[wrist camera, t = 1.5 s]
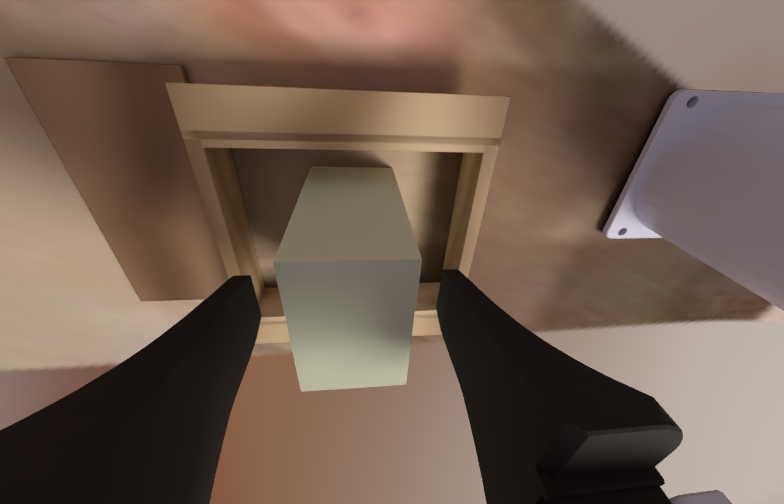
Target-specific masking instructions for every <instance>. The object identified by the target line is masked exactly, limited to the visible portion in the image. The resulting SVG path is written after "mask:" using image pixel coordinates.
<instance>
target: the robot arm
mask: <svg viewBox="0 0 784 504" xmlns="http://www.w3.org/2000/svg"><path fill="white" fill-rule="evenodd" d="M690 98H691V99H690ZM689 99H690V102H689V103H688V104H687V102H688V101H689ZM603 234H604V235H605V236H606V237H607V238H664V239H666V240H668V241H669V242H671V243H673V244H674V245H676V246H678V247H679V248H681V249H683V250H684V251H686V252H688V253H689V254H691V255H693V256H694V257H696V258H697V259H699V260H701V261H702V262H704V263H706V264H707V265H709V266H711V267H712V268H714V269H716V270H717V271H719V272H721V273H722V274H724V275H726V276H727V277H729V278H731V279H732V280H734V281H736V282H737V283H739V284H741V285H742V286H744V287H746V288H747V289H749V290H750V291H752V292H754V293H755V294H757V295H759V296H760V297H762V298H764V299H765V300H767V301H769V302H770V303H772V304H774V305H775V306H777V307H779V308H780V309H782V310H784V94H779V93H758V92H757V93H756V92H736V91H735V92H734V91H715V90H693V89H680V90H677V91H676V92H674V93H673V94H672V95H671V96H670V97H669V99H668V100H667V102H666V104H665V106H664V108H663V110H662V112H661V114H660V116H659V118H658V120H657V122H656V124H655V126H654V128H653V130H652V132H651V134H650V136H649V138H648V140H647V142H646V144H645V146H644V148H643V150H642V152H641V154H640V156H639V158H638V160H637V162H636V164H635V166H634V168H633V170H632V172H631V174H630V176H629V178H628V180H627V182H626V184H625V186H624V188H623V190H622V192H621V194H620V196H619V199H618V201H617V203H616V205H615V207H614V209H613V211H612V213H611V215H610V217H609V219H608V221H607V223H606V225H605V227H604V229H603ZM436 310H437V315H438V320H439V324H440V329H441V332H442V335H443V338H444V341H445V344H446V347H447V349H448V352H449V355H450V358H451V361H452V364H453V366H454V369H455V372H456V375H457V378H458V380H459V383H460V386H461V389H462V393H463V396H464V401H465V405H466V409H467V412H468V417H469V421H470V425H471V429H472V434H473V438H474V443H475V447H476V452H477V456H478V461H479V466H480V471H481V476H482V481H483V485H484V491H485V496H486V502H487V504H732V503H731V502H730V501H729V500H728V498H727V497H726V496H725V495H724V494H723V492H720V491H718V490H714V491H706V492H699V493H690V494H684V495H679V496H675V497H673V498H670V499H668V497H667V496H666V494H665V493H664V492H663V491H662V489H661V488H660V486H661V485H663V484H664V479H663V477H662V476H661V475H660V473H659V472H658V471H657V469H656V468H655V466H656V465H657V464H658V463H660V462H661V461H662V460H663V459H664V458H665V457H667V456H668V455H669V454H670V453H672V452H673V451H674V450H675V449H676V448H677V447H678V446H679V445H680V443H681V441H682V439H683V434H682V430H681V429H680V428H679V426H678V425H677V424H676V423H675V422H674V421H673V420H672V418H671V417H670V416H669V415H668V414H667V413H666V412H665V410H664V409H663V408H662V407H661V406H660V405H659V403H658V402H657V401H656V400H655V399H654V398H653V397H651V396H649V395H647V394H645V393H643V392H640V391H638V390H636V389H634V388H632V387H629V386H627V385H625V384H623V383H621V382H618V381H616V380H614V379H612V378H610V377H608V376H606V375H604V374H602V373H600V372H597V371H596V370H594V369H592V368H590V367H588V366H586V365H584V364H583V363H581V362H579V361H577V360H575V359H573V358H572V357H570V356H568V355H567V354H565V353H563V352H562V351H560V350H558V349H557V348H555V347H553V346H552V345H550V344H549V343H547V342H545V341H544V340H542V339H541V338H539V337H538V336H536V335H535V334H534V333H532V332H531V331H529V330H528V329H526V328H525V327H524V326H522V325H521V324H520V323H518V322H517V321H516V320H514V319H513V318H512V317H511V316H509V315H508V314H507V313H506V312H504V311H503V310H502V309H501V308H500V307H498V306H497V305H496V304H495V303H494V302H493V301H491V300H490V299H489V298H488V297H487V296H486V295H485V294H484V293H483V292H482V291H480V290H479V289H478V288H477V287H476V286H475V285H474V284H473V283H472V282H471V281H470V280H469V279H468V278H467V277H466V276H465V275H464V274H463V273H461V272H460V271H459V270H458V269H443V270H442V276H441V282H440V288H439V293H438V299H437V305H436ZM261 316H262V315H261V312H260V308H259V304H258V301H257V297H256V293H255V290H254V286H253V282H252V279H251V275H237V276H232V277H231V278H230V279H228V280H227V281H226V282H225V283H224V284H222V285H221V286H220V287H219V288H218V289H217V290H216V291H215V292H213V293H212V294H211V295H210V296H209V297H208V298H207V299H205V300H204V301H203V302H202V303H201V304H199V305H198V306H197V307H196V308H195V309H194V310H192V311H191V312H190V313H189V314H188V315H187V316H185V317H184V318H183V319H181V320H180V321H179V322H178V323H176V324H175V325H174V326H173V327H171V328H170V329H169V330H167V331H166V332H165V333H164V334H162V335H161V336H160V337H158V338H157V339H156V340H154V341H153V342H152V343H150V344H149V345H147V346H146V347H145V348H143V349H142V350H140V351H139V352H137V353H136V354H134V355H133V356H131V357H130V358H128V359H127V360H125V361H124V362H122V363H121V364H119V365H118V366H116V367H114V368H113V369H111V370H110V371H108V372H106V373H104V374H103V375H101V376H100V377H98V378H96V379H95V380H93V381H91V382H90V383H88V384H86V385H85V386H83V387H81V388H80V389H78V390H76V391H74V392H73V393H71V394H69V395H67V396H65V397H64V398H62V399H60V400H58V401H56V402H55V403H53V404H51V405H49V406H47V407H45V408H43V409H41V410H40V411H38V412H36V413H34V414H32V415H30V416H28V417H27V418H24V419H22V420H20V421H18V422H16V423H15V424H13V425H11V426H9V427H7V428H4V429H2V430H0V504H209V502H210V498H211V493H212V488H213V483H214V478H215V473H216V469H217V465H218V461H219V457H220V452H221V448H222V444H223V439H224V436H225V432H226V428H227V424H228V420H229V416H230V412H231V409H232V406H233V403H234V400H235V397H236V394H237V392H238V389H239V386H240V383H241V381H242V378H243V375H244V373H245V370H246V367H247V365H248V362H249V359H250V356H251V354H252V351H253V348H254V345H255V342H256V339H257V335H258V330H259V326H260V321H261Z"/></svg>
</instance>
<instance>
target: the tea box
mask: <svg viewBox="0 0 784 504" xmlns="http://www.w3.org/2000/svg"><path fill="white" fill-rule="evenodd" d="M421 263H422V259H421V256H420V252H419V249H418V246H417V243H416V240H415V237H414V234H413V230H412V227H411V224H410V221H409V219H408V216H407V213H406V210H405V206H404V203H403V200H402V197H401V194H400V191H399V187H398V184H397V181H396V178H395V175H394V172H393V168H380V167H310V170H309V172H308V175H307V177H306V180H305V182H304V185H303V188H302V190H301V193H300V195H299V198H298V200H297V203H296V206H295V208H294V211H293V213H292V216H291V218H290V221H289V223H288V226H287V228H286V231H285V234H284V236H283V239H282V241H281V244H280V246H279V249H278V251H277V254H276V257H275V259H274V262H273V265H274V270H275V275H276V279H277V284H278V289H279V293H280V298H281V303H282V307H283V312H284V316H285V319H286V323H287V328H288V333H289V337H290V342H291V347H292V352H293V356H294V361H295V366H296V370H297V375H298V379H299V384H300V388H301V391H317V390H331V389H347V388H361V387H375V386H391V385H405V384H406V380H407V371H408V362H409V354H410V347H411V338H412V330H413V322H414V314H415V311H416V303H417V295H418V287H419V279H420V271H421Z"/></svg>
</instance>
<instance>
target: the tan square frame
mask: <svg viewBox="0 0 784 504" xmlns="http://www.w3.org/2000/svg"><path fill="white" fill-rule="evenodd" d="M165 85H166V88H167V91H168V94H169V97H170V100H171V103H172V106H173V109H174V112H175V115H176V118H177V122H178V125H179V128H180V131H181V134H182V137H183V140H184V143H185V146H186V149H187V152H188V155H189V158H190V161H191V164H192V168H193V171H194V174H195V177H196V180H197V183H198V186H199V189H200V192H201V195H202V198H203V201H204V204H205V207H206V210H207V213H208V217H209V220H210V223H211V226H212V229H213V232H214V235H215V238H216V241H217V244H218V247H219V250H220V253H221V256H222V259H223V262H224V266H225V269H226V272H227V275H228V278H229V279H230V278H231V277H232V276H237V275H251V279H252V282H253V286H254V290H255V293H256V297H257V301H258V304H259V308H260V312H261V315H262V316H261V321H260V326H259V330H258V335H257V339H256V342H255V344H260V343H280V342H290V337H289V333H288V328H287V323H286V319H285V316H284V312H283V307H282V303H281V298H280V293H279V289H278V287H270V288H265V286H264V282H263V278H262V274H261V270H260V266H259V262H258V258H257V254H256V250H255V246H254V242H253V238H252V234H251V230H250V226H249V222H248V217H247V213H246V209H245V205H244V201H243V197H242V193H241V189H240V185H239V181H238V177H237V173H236V169H235V165H234V161H233V157H232V153H231V149H230V148H258V149H312V150H366V151H419V152H463V155H462V161H461V167H460V172H459V178H458V184H457V190H456V196H455V201H454V207H453V213H452V219H451V224H450V230H449V236H448V242H447V247H446V253H445V259H444V265H443V269H458V270H459V271H460V272H461V273H463V274H464V275H465V276H466V277H467V278H468V276H469V271H470V267H471V263H472V259H473V254H474V250H475V246H476V242H477V237H478V233H479V229H480V225H481V221H482V216H483V212H484V208H485V204H486V199H487V195H488V191H489V187H490V182H491V178H492V174H493V170H494V166H495V161H496V157H497V153H498V149H499V144H500V140H501V136H502V132H503V127H504V123H505V119H506V115H507V111H508V106H509V102H510V98H511V97H510V96H492V95H467V94H443V93H418V92H393V91H369V90H344V89H319V88H295V87H270V86H245V85H221V84H196V83H171V82H167V83H165ZM439 288H440V282H434V283H419V287H418V295H417V303H416V311H415V314H414V322H413V330H412V336H420V335H439V334H442V332H441V329H440V324H439V320H438V315H437V310H436V305H437V299H438V293H439Z"/></svg>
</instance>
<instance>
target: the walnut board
mask: <svg viewBox="0 0 784 504" xmlns="http://www.w3.org/2000/svg"><path fill="white" fill-rule="evenodd" d="M4 59H5V61H6V63H7V64H8V66H9V68H10V70H11V71H12V73H13V75H14V77H15V79H16V80H17V82H18V84H19V86H20V87H21V89H22V91H23V93H24V95H25V96H26V98H27V100H28V102H29V103H30V105H31V107H32V109H33V111H34V112H35V114H36V116H37V118H38V119H39V121H40V123H41V125H42V127H43V128H44V130H45V132H46V134H47V135H48V137H49V139H50V141H51V142H52V144H53V146H54V148H55V150H56V151H57V153H58V155H59V157H60V158H61V160H62V162H63V164H64V166H65V167H66V169H67V171H68V173H69V174H70V176H71V178H72V180H73V182H74V183H75V185H76V187H77V189H78V190H79V192H80V194H81V196H82V198H83V199H84V201H85V203H86V205H87V206H88V208H89V210H90V212H91V213H92V215H93V217H94V219H95V221H96V222H97V224H98V226H99V228H100V229H101V231H102V233H103V235H104V237H105V238H106V240H107V242H108V244H109V245H110V247H111V249H112V251H113V253H114V254H115V256H116V258H117V260H118V261H119V263H120V265H121V267H122V269H123V270H124V272H125V274H126V276H127V277H128V279H129V281H130V283H131V285H132V286H133V288H134V290H135V292H136V293H137V295H138V297H139V299H140V300H141V301H165V300H195V299H207V298H208V297H209V296H210V295H211V294H212V293H213V292H215V291H216V290H217V289H218V288H219V287H220V286H221V285H222V284H224V283H225V282H226V281H227V280H228V279H229V278H228V275H227V272H226V269H225V266H224V262H223V259H222V256H221V253H220V250H219V247H218V244H217V241H216V238H215V235H214V232H213V229H212V226H211V223H210V220H209V217H208V213H207V210H206V207H205V204H204V201H203V198H202V195H201V192H200V189H199V186H198V183H197V180H196V177H195V174H194V171H193V168H192V164H191V161H190V158H189V155H188V152H187V149H186V146H185V143H184V140H183V137H182V134H181V131H180V128H179V125H178V122H177V118H176V115H175V112H174V109H173V106H172V103H171V100H170V97H169V94H168V91H167V88H166V85H165V83H167V82H171V83H188V79H187V76H186V73H185V69H184V66H183V65H164V64H142V63H121V62H99V61H78V60H56V59H35V58H14V57H6V58H4Z"/></svg>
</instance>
